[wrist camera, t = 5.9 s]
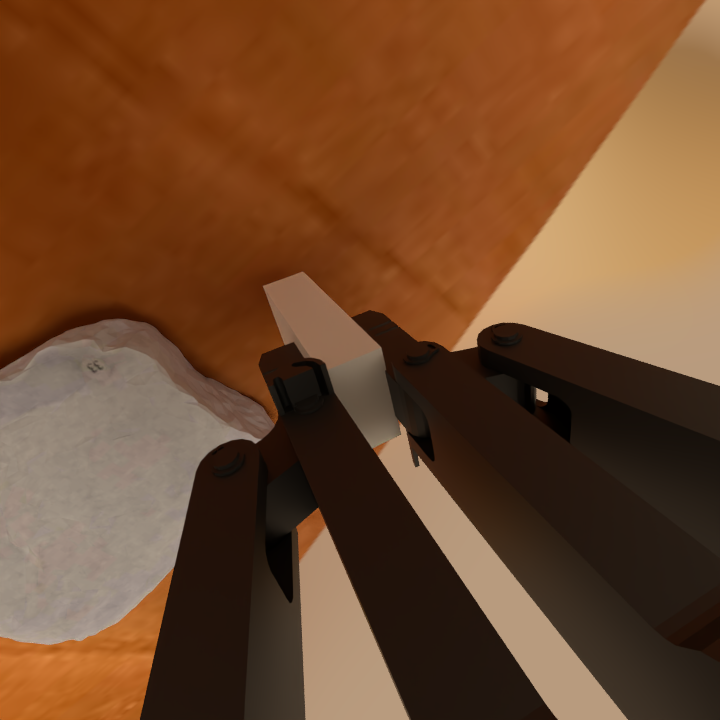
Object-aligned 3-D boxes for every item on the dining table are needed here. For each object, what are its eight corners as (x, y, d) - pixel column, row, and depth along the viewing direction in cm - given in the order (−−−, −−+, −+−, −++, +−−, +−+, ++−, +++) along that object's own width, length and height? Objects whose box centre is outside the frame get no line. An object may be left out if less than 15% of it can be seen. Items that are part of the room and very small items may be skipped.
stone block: (-128, 468, 16) (97, 594, 20) (-258, 557, 12) (63, 695, 16) (112, 258, 17) (287, 422, 21) (73, 268, 12) (305, 474, 16)
